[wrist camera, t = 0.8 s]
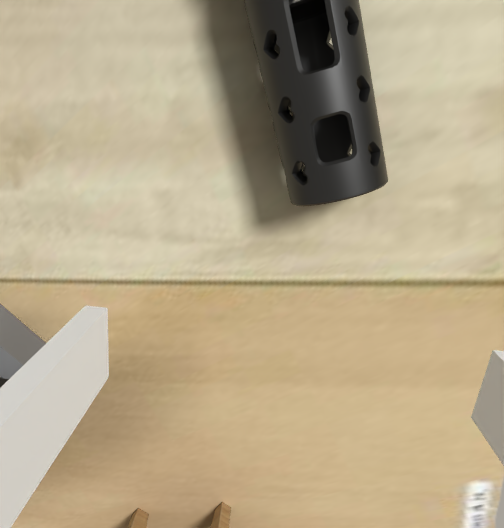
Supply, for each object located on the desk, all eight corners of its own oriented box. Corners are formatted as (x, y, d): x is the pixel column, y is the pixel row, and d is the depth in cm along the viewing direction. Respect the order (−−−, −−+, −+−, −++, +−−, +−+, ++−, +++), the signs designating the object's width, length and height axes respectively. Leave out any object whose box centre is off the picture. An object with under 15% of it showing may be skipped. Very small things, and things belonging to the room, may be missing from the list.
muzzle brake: (286, 195, 45) (290, 214, 35) (214, -113, 37) (191, -201, 27) (376, 173, 44) (405, 185, 34) (320, -151, 36) (337, -258, 26)
